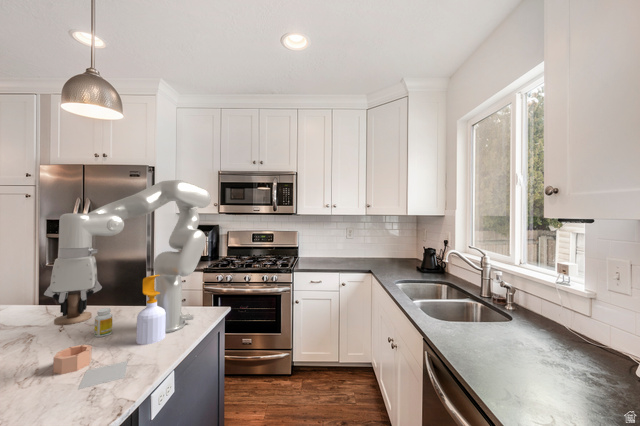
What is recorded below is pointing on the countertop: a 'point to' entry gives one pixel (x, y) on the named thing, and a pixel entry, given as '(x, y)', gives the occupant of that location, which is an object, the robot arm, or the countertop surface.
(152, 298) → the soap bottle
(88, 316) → the lid
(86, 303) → the robot arm
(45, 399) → the countertop surface
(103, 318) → the supplement bottle
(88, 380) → the mat
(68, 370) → the octagonal peach pot
